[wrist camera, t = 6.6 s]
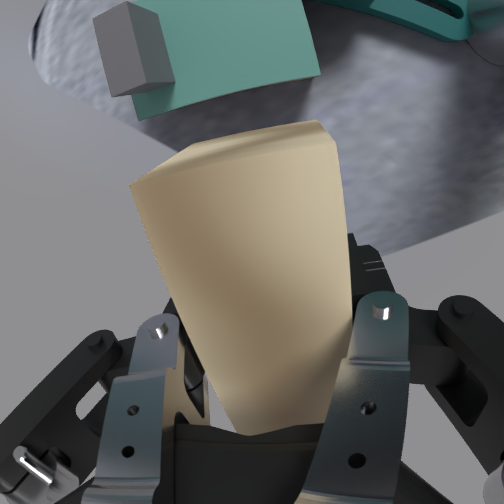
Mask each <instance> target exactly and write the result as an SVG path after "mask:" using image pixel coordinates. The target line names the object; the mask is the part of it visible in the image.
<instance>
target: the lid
mask: <svg viewBox="0 0 504 504" xmlns="http://www.w3.org/2000/svg"><path fill="white" fill-rule="evenodd" d="M93 23H94V27H95V32H96V37H97V41H98V45H99V50H100V54H101V58H102V62H103V66H104V70H105V74H106V78H107V82H108V86H109V89H110V93H111V97H117V96H124V95H131V96H132V100H133V103H134V107H135V110H136V114H137V117H138V120H139V121H141V120H144V119H147V118H150V117H153V116H156V115H159V114H162V113H165V112H168V111H171V110H174V109H177V108H180V107H183V106H187V105H190V104H193V103H197V102H200V101H204V100H207V99H211V98H215V97H218V96H222V95H226V94H230V93H234V92H238V91H242V90H246V89H251V88H255V87H260V86H265V85H269V84H274V83H280V82H285V81H290V80H296V79H302V78H308V77H315V76H320V75H321V72H320V68H319V64H318V60H317V56H316V52H315V48H314V44H313V40H312V36H311V32H310V29H309V25H308V21H307V18H306V14H305V11H304V7H303V4H302V1H301V0H137V1H135V2H133V3H130V2H128V1H126V2H123V3H121V4H119V5H117V6H115V7H113V8H112V9H110V10H108V11H106V12H104V13H102V14H100V15H98V16H97V17H95V18H93Z"/></svg>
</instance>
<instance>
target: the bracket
mask: <svg viewBox="0 0 504 504" xmlns="http://www.w3.org/2000/svg"><path fill="white" fill-rule="evenodd" d="M312 1H317V2H322V3H327V4H331V5H336V6H340V7H344V8H348V9H352V10H355V11H359V12H363V13H366V14H369V15H373V16H376V17H379V18H382V19H385V20H388V21H391V22H394V23H397V24H400V25H403V26H405V27H408V28H411V29H413V30H416V31H418V32H421V33H423V34H426V35H428V36H431V37H433V38H435V39H438V40H440V41H444V42H453V41H458V40H464V39H467V38H469V37H471V36H472V35H473V34H474V31H473V29H472V27H471V24H470V21H469V17H468V12H467V1H468V0H430V1H432V2H434V3H437V4H439V5H441V6H443V7H445V8H447V9H449V10H450V11H451V12H452V13H453V15H454V17H452V16H450V15H448V14H446V13H443V12H441V11H439V10H437V9H435V8H432V7H430V6H428V5H425V4H423V3H420V2H418V1H415V0H312Z"/></svg>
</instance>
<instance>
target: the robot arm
mask: <svg viewBox="0 0 504 504" xmlns="http://www.w3.org/2000/svg"><path fill="white" fill-rule="evenodd" d="M467 12H468V17H469V21H470V24H471V27H472V29H473V31H474V34H473V35H472V36H471V37H469V38H467V41H468V42H469V44H470V45H471V47H472V48H473V49H474V50H475V51H476V52H477V53H478V54H479V55H480V56H481V57H482V58H483V59H485V60H487V61H488V62H490V63H493V64H496V65H504V0H468V1H467ZM347 238H348V250H349V263H350V278H351V297H352V323H353V330H352V335H351V340H350V344H349V349H348V354H347V358H343V359H342V361H341V364H340V367H339V371H338V375H337V379H336V383H335V387H334V391H333V394H332V398H331V402H330V405H329V409H328V412H327V416H326V419H325V422H324V423H318V424H305V425H294V426H290V427H286V428H283V429H279V430H275V431H270V432H266V433H262V434H257V435H252V436H247V435H242V434H238V433H234V432H230V431H227V430H223V429H219V428H216V427H212V426H210V414H209V397H208V381H207V378H206V376H205V374H204V373H205V370H204V368H203V366H202V364H201V362H200V360H199V358H198V355H197V353H196V351H195V349H194V347H193V345H192V343H191V340H190V338H189V336H188V334H187V332H186V329H185V327H184V325H183V323H182V321H181V318H180V316H179V314H178V311H177V309H176V307H175V304H174V302H173V300H172V297H171V298H170V300H169V302H168V304H167V306H166V308H165V310H164V311H163V313H162V314H159V315H156V316H153V317H151V318H149V319H148V320H146V321H145V322H144V323H143V324H142V325H141V326H140V327H139V329H138V331H137V335H136V336H135V337H132V338H128V339H124V340H120V341H118V340H117V339H116V337H115V335H114V334H113V332H112V331H109V330H99V331H97V332H94V333H92V334H90V335H89V336H88V337H86V338H85V339H84V340H83V341H82V342H81V343H80V344H79V345H78V346H77V347H76V348H75V349H74V350H73V351H72V352H71V353H70V354H69V355H67V357H66V358H64V359H63V360H62V361H61V362H60V363H59V364H58V365H57V366H56V367H55V368H54V369H53V370H52V371H51V372H50V373H49V374H48V375H47V376H46V377H45V378H44V379H43V381H42V382H40V383H39V384H38V386H36V387H35V388H34V389H33V391H32V392H31V393H30V394H29V395H28V396H27V397H26V398H25V399H24V400H23V401H22V402H21V403H20V404H19V405H18V406H17V407H16V408H15V409H14V410H13V411H12V413H10V415H9V416H8V417H7V418H6V419H5V420H4V421H3V422H2V423H1V424H0V494H2V495H3V496H5V497H6V499H7V501H8V502H9V504H453V503H452V502H451V501H450V500H448V499H447V498H446V497H444V496H443V495H442V494H441V493H439V492H438V491H437V490H436V489H435V488H433V487H432V486H431V485H430V484H428V483H427V482H426V481H425V480H424V479H422V478H421V477H420V476H419V475H417V474H416V473H415V472H414V471H413V470H411V469H410V468H409V467H408V466H407V465H406V464H404V463H403V462H402V461H401V456H402V450H403V443H404V434H405V426H406V417H407V407H408V395H409V383H412V384H424V385H425V387H426V389H427V390H428V392H429V393H430V394H431V396H432V397H433V398H434V399H435V401H436V402H437V404H438V405H439V406H440V407H441V409H442V410H443V411H444V413H445V414H446V416H447V417H448V418H449V420H450V421H451V422H452V424H453V425H454V427H455V428H456V429H457V431H458V432H459V433H460V435H461V436H462V438H463V439H464V441H465V442H466V443H467V445H468V446H469V448H470V449H471V450H472V452H473V453H474V455H475V456H476V458H477V459H478V460H479V462H480V463H481V465H482V466H483V468H484V469H485V471H486V472H487V474H488V475H489V476H488V478H487V480H486V482H485V485H484V489H483V497H484V501H485V504H504V323H503V322H502V321H501V320H500V319H499V318H498V317H497V316H496V315H494V314H493V313H492V312H491V311H490V310H489V309H487V308H486V307H485V306H484V305H483V304H481V303H480V302H479V301H477V300H476V299H474V298H471V297H468V296H463V295H456V296H451V297H449V298H446V299H445V300H443V301H442V302H441V304H440V305H439V308H438V311H435V310H422V309H416V308H412V307H410V306H408V303H407V301H406V300H405V298H404V297H402V296H401V295H399V294H397V293H396V292H395V290H394V287H393V285H392V282H391V280H390V278H389V275H388V273H387V270H386V269H385V266H384V263H383V262H382V259H381V257H380V254H379V252H378V251H377V250H376V249H374V248H373V247H372V246H370V245H363V246H357V243H356V240H355V238H354V235H353V233H349V234H347ZM97 381H98V382H99V383H100V384H101V386H102V387H103V388H104V389H105V391H106V392H107V393H106V394H105V395H104V397H103V398H102V399H101V400H100V401H99V402H98V403H97V404H96V405H95V407H94V408H93V409H92V410H91V411H90V412H89V413H88V414H87V416H86V417H85V418H84V419H82V420H80V419H79V418H78V416H77V415H76V406H77V404H78V402H79V401H80V400H81V399H82V398H83V397H84V396H85V394H86V393H87V392H88V391H89V390H90V389H91V388H92V387H93V386H94V385H95V384H96V382H97ZM95 467H96V471H95V476H94V477H93V478H91V479H90V480H88V481H87V482H85V483H84V484H83V485H81V484H82V483H83V482H84V480H85V479H86V478H87V477H88V476H89V474H90V473H91V472H92V471H93V469H94V468H95ZM80 485H81V486H80ZM79 486H80V487H79Z"/></svg>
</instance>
